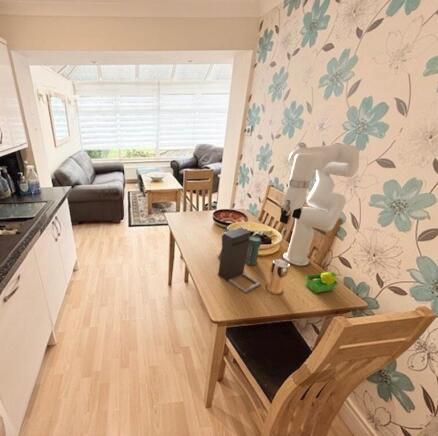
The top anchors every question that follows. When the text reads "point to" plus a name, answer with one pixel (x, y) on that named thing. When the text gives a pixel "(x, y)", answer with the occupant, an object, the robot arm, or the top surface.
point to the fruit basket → (321, 282)
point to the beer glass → (278, 275)
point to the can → (253, 250)
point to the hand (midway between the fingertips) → (289, 220)
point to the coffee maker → (235, 256)
